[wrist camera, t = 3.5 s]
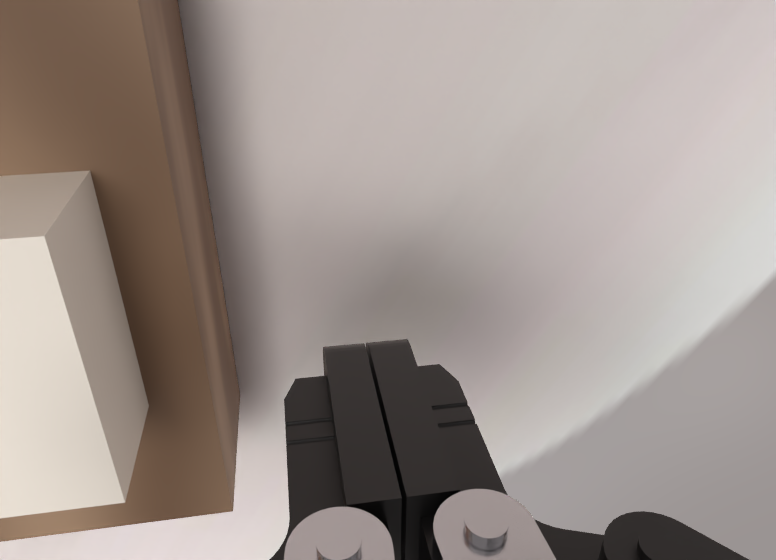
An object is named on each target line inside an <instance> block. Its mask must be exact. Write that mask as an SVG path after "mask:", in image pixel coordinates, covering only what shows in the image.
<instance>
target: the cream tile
mask: <svg viewBox="0 0 776 560" xmlns="http://www.w3.org/2000/svg"><path fill="white" fill-rule="evenodd" d="M148 407H149V404H148V400H147V396H146V392H145V388H144V384H143V380H142V376H141V372H140V368H139V364H138V360H137V356H136V352H135V348H134V344H133V340H132V336H131V332H130V328H129V324H128V320H127V316H126V312H125V308H124V304H123V300H122V296H121V292H120V288H119V284H118V280H117V276H116V272H115V268H114V264H113V260H112V256H111V252H110V248H109V244H108V240H107V236H106V232H105V228H104V224H103V220H102V216H101V213H100V209H99V205H98V201H97V197H96V193H95V189H94V185H93V181H92V177H91V173H90V171H75V172H59V173H42V174H26V175H9V176H0V518H7V517H15V516H23V515H31V514H39V513H47V512H55V511H63V510H71V509H79V508H86V507H94V506H102V505H110V504H118V503H125V501H126V497H127V493H128V489H129V485H130V481H131V477H132V473H133V469H134V464H135V460H136V456H137V452H138V448H139V444H140V440H141V436H142V432H143V428H144V424H145V419H146V415H147V411H148Z"/></svg>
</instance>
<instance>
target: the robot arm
mask: <svg viewBox="0 0 776 560" xmlns="http://www.w3.org/2000/svg"><path fill="white" fill-rule="evenodd" d="M323 360H324V376H319V377H309V378H299V379H295V381H294V383H293V385H292V386H291V388H290V390H289V392H288V394H287V396H286V397H285V399H284V403H285V424H286V444H287V446H286V447H287V468H288V490H289V512H290V522H289V529H288V533H287V535H286V538H285V540H284V542H283V544H282V545H281V547H280V549H279V550H278V551H277V552H276V553H275V555H274V556H273V557H272V558H271V559H270V560H749V559H747V558H745V557H743V556H741V555H739V554H737V553H736V552H734V551H732V550H730V549H728V548H727V547H725V546H723V545H721V544H719V543H717V542H715V541H714V540H712V539H710V538H708V537H706V536H705V535H703V534H701V533H699V532H697V531H696V530H694V529H692V528H690V527H688V526H686V525H684V524H683V523H681V522H679V521H676V520H675V519H672V518H670V517H667V516H664V515H661V514H657V513H652V512H632V513H626V514H624V515H621V516H619V517H618V518H616V519H614V520H613V521H612V522H611V523H610V524H609V526H608V527H607V529H606V531H605V535H599V534H592V533H585V532H578V531H572V530H565V529H560V528H555V527H552V526H549V525H546V524H543V523H541V522H539V521H537V520H535V519H534V518H533V517H532V515H531V514H530V512H529V511H528V510H527V509H526V508H525V507H524V506H523V505H522V504H521V503H519V502H518V501H517V500H515V499H513V498H512V497H510V496H508V495H507V493H506V491H505V489H504V487H503V485H502V482H501V480H500V478H499V475H498V473H497V471H496V468H495V466H494V464H493V461H492V459H491V457H490V454H489V452H488V450H487V447H486V445H485V442H484V440H483V438H482V435H481V433H480V431H479V428H478V426H477V424H475V419H474V417H473V414H472V412H471V410H470V407H469V406H468V405H467V400H466V398H465V396H464V393H463V391H462V388H461V386H460V384H459V381H458V380H456V379H455V378H454V377H453V376H452V375H451V374H450V373H449V372H447V371H446V370H445V369H444V368H443V367H442V366H441V365H440V364H437V365H427V366H417V364H416V361H415V358H414V355H413V352H412V349H411V346H410V344H409V341H408V340H407V339H404V340H393V341H382V342H372V343H367V344H366V348H365V345H364V343H363V344H352V345H341V346H330V347H323Z"/></svg>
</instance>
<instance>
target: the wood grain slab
mask: <svg viewBox="0 0 776 560" xmlns="http://www.w3.org/2000/svg"><path fill="white" fill-rule="evenodd" d="M75 171H90V173H91V177H92V181H93V185H94V189H95V193H96V197H97V201H98V205H99V209H100V213H101V216H102V220H103V224H104V228H105V232H106V236H107V240H108V244H109V248H110V252H111V256H112V260H113V264H114V268H115V272H116V276H117V280H118V284H119V288H120V292H121V296H122V300H123V304H124V308H125V312H126V316H127V320H128V324H129V328H130V332H131V336H132V340H133V344H134V348H135V352H136V356H137V360H138V364H139V368H140V372H141V376H142V380H143V384H144V388H145V392H146V396H147V400H148V404H149V407H148V411H147V415H146V419H145V424H144V428H143V432H142V436H141V440H140V444H139V448H138V452H137V456H136V460H135V464H134V469H133V473H132V477H131V481H130V485H129V489H128V493H127V497H126V501H125V503H118V504H110V505H102V506H94V507H86V508H79V509H71V510H63V511H55V512H47V513H39V514H31V515H23V516H15V517H7V518H0V542H1V541H9V540H16V539H24V538H31V537H39V536H47V535H54V534H62V533H70V532H77V531H85V530H93V529H100V528H108V527H115V526H123V525H131V524H138V523H146V522H154V521H161V520H169V519H176V518H184V517H192V516H199V515H207V514H215V513H222V512H230V511H233V502H234V485H235V469H236V453H237V436H238V420H239V403H240V392H239V386H238V379H237V373H236V367H235V360H234V354H233V348H232V341H231V335H230V329H229V322H228V316H227V310H226V303H225V297H224V291H223V284H222V278H221V272H220V265H219V259H218V253H217V246H216V240H215V234H214V227H213V221H212V215H211V208H210V202H209V196H208V189H207V183H206V177H205V170H204V164H203V157H202V151H201V145H200V138H199V132H198V126H197V119H196V113H195V107H194V100H193V94H192V88H191V81H190V75H189V69H188V62H187V56H186V50H185V43H184V37H183V31H182V24H181V18H180V12H179V5H178V0H0V176H9V175H26V174H42V173H59V172H75Z"/></svg>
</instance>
